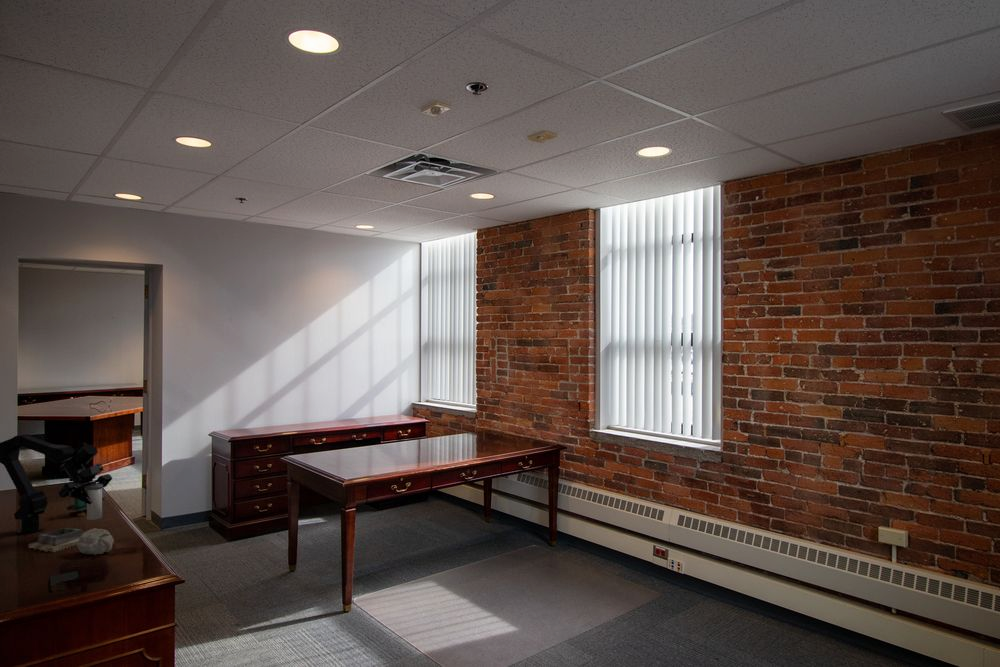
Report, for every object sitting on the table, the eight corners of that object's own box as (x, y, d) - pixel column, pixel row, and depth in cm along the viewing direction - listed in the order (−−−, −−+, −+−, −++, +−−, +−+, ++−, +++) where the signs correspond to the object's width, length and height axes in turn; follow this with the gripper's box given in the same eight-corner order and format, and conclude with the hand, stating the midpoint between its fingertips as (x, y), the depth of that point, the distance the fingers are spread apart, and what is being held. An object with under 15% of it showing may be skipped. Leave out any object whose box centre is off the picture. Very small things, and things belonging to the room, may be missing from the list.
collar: (28, 548, 221) (28, 535, 221) (67, 536, 234) (67, 525, 235) (53, 552, 216) (53, 540, 216) (91, 540, 230) (91, 528, 230)
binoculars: (78, 489, 271) (96, 488, 269) (80, 512, 271) (98, 511, 269) (60, 494, 262) (79, 493, 260) (61, 518, 262) (80, 517, 260)
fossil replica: (107, 557, 212) (118, 550, 222) (110, 533, 213) (121, 527, 222) (68, 557, 209) (82, 550, 219) (72, 533, 210) (85, 526, 220)
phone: (49, 591, 181) (49, 576, 193) (49, 594, 181) (49, 578, 193) (79, 585, 185) (77, 570, 197) (79, 588, 185) (77, 573, 197)
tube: (82, 519, 235) (83, 486, 235) (96, 515, 240) (96, 483, 240) (92, 520, 233) (92, 487, 233) (105, 516, 238) (106, 484, 238)
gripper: (64, 463, 229) (85, 494, 225) (109, 454, 247) (129, 483, 243) (49, 482, 231) (69, 513, 228) (95, 472, 249) (114, 500, 245)
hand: (97, 501), depth 236 cm, fingers closed on tube, 5 cm apart
